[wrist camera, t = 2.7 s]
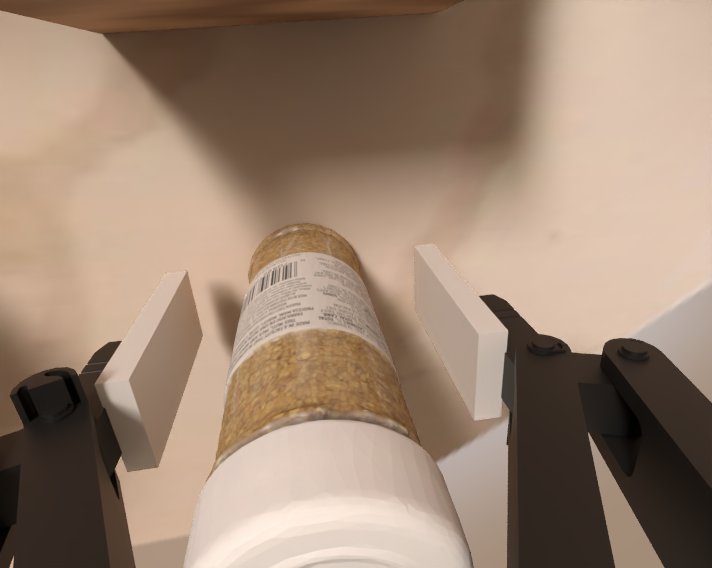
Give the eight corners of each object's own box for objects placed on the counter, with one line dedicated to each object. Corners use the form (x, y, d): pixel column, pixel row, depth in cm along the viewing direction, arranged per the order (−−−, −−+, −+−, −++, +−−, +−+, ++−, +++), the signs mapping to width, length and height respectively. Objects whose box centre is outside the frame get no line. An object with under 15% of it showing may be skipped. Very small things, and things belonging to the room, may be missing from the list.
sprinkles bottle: (280, 336, 20) (265, 742, 8) (227, 247, 18) (97, 603, 6) (376, 294, 20) (515, 644, 8) (333, 199, 18) (427, 465, 6)
